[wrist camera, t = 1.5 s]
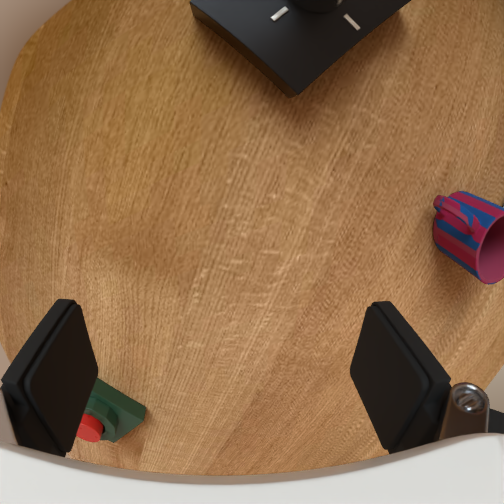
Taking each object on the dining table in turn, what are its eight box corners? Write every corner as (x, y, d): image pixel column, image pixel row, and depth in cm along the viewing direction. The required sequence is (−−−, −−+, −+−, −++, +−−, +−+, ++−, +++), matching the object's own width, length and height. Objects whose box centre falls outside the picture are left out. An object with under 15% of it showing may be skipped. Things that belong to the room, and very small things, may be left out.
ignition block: (52, 390, 31) (41, 413, 27) (73, 361, 29) (61, 385, 26) (116, 430, 34) (111, 453, 31) (146, 407, 32) (141, 433, 29)
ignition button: (70, 419, 28) (66, 430, 27) (81, 407, 27) (76, 419, 26) (96, 434, 29) (93, 445, 28) (108, 424, 29) (105, 436, 27)
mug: (454, 265, 29) (493, 296, 22) (400, 212, 26) (444, 239, 20) (486, 216, 27) (530, 239, 21) (439, 154, 24) (489, 168, 18)
